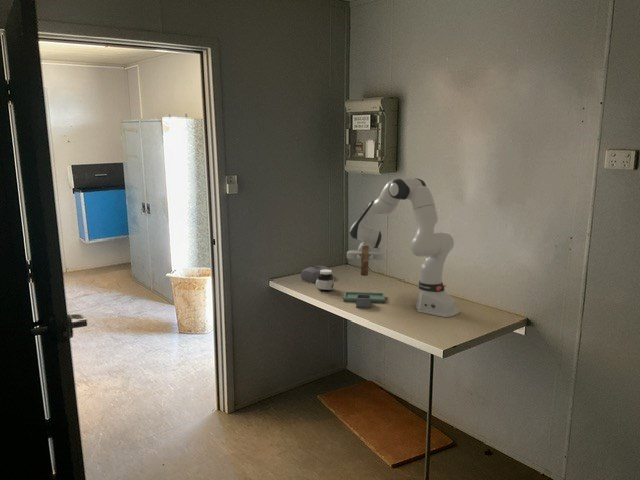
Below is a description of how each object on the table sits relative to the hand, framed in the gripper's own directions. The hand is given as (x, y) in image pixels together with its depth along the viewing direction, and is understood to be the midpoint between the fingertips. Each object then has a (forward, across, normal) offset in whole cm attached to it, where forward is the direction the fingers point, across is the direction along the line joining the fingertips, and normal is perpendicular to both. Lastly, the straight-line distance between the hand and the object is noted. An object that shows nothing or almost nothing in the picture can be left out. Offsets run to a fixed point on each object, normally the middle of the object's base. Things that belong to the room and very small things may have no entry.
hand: (364, 258), depth 274 cm
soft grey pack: (-40, -30, +24) cm, 55 cm away
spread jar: (-16, -24, +23) cm, 37 cm away
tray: (-1, 0, +23) cm, 23 cm away
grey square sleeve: (+11, 0, +23) cm, 25 cm away
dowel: (-1, 0, +9) cm, 9 cm away
